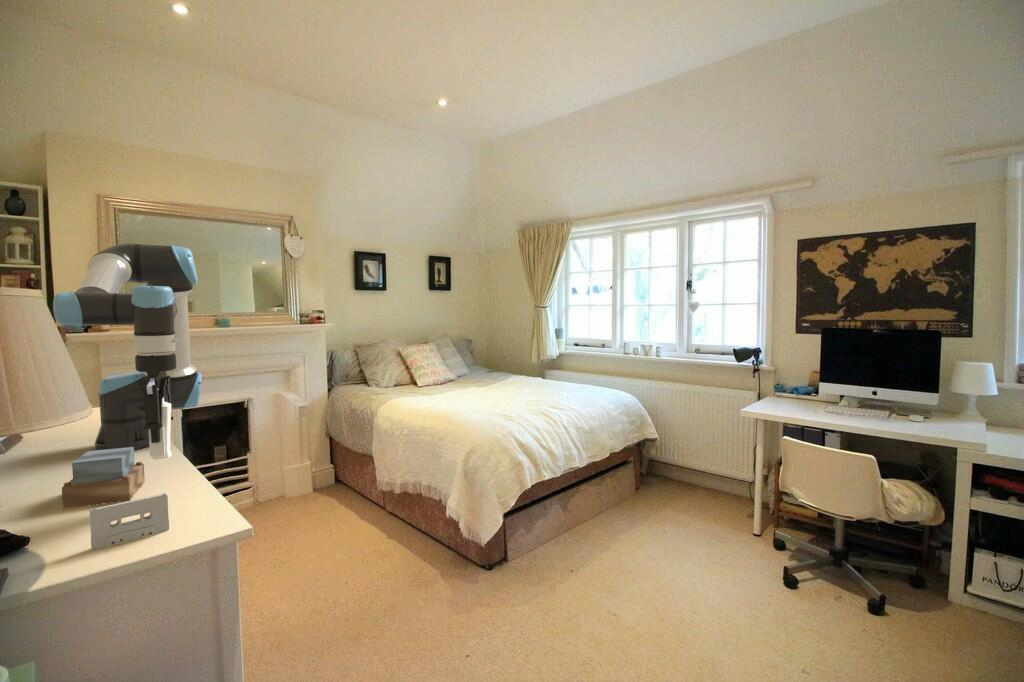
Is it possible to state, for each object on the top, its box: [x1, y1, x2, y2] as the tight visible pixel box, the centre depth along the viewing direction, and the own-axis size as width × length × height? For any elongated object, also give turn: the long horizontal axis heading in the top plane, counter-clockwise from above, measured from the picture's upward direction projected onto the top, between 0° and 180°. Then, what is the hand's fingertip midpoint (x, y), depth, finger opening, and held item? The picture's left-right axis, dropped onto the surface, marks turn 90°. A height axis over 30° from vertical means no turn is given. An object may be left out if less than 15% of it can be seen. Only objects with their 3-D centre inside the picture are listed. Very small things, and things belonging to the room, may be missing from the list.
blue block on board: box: [61, 447, 145, 510], centre depth 113 cm, size 12×12×10 cm
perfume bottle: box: [150, 394, 173, 461], centre depth 109 cm, size 5×4×15 cm
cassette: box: [89, 493, 170, 550], centre depth 93 cm, size 12×2×8 cm, turn 132°
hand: (160, 451), depth 110 cm, fingers closed on perfume bottle, 5 cm apart
